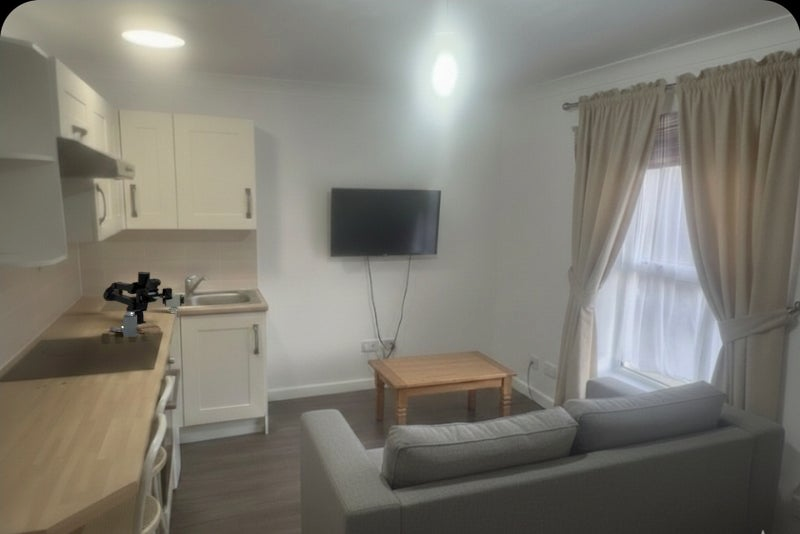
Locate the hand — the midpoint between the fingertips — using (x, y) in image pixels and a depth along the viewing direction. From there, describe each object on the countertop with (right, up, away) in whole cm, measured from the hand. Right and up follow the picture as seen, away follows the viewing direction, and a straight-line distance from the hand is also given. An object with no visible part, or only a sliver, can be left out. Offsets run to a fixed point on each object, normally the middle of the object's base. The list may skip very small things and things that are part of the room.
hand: (164, 299), depth 263 cm
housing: (-12, -17, -11) cm, 24 cm away
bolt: (-22, -16, -5) cm, 28 cm away
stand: (-7, -16, -1) cm, 18 cm away
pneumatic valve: (-14, -11, +42) cm, 46 cm away
